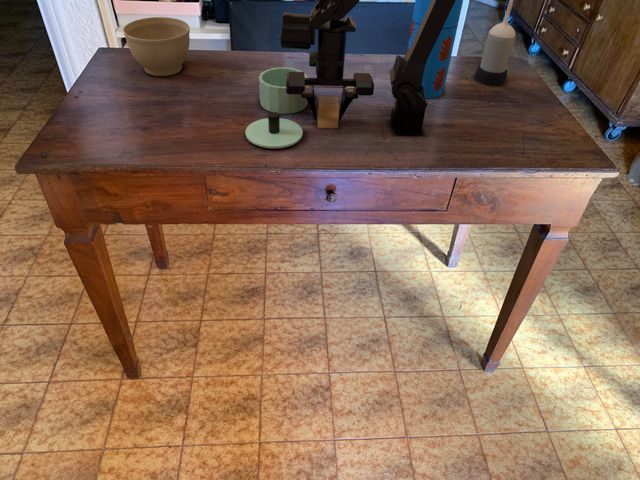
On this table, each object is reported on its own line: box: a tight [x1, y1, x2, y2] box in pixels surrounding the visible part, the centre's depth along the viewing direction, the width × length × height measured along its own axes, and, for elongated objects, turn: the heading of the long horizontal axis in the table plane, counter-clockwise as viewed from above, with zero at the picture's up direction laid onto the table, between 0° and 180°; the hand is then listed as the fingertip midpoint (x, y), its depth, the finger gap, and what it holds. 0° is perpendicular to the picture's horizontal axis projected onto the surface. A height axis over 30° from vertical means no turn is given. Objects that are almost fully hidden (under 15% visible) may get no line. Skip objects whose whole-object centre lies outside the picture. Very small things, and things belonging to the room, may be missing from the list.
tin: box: [258, 66, 309, 115], centre depth 120 cm, size 11×11×6 cm
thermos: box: [406, 0, 464, 99], centre depth 122 cm, size 11×11×25 cm
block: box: [316, 95, 340, 129], centre depth 113 cm, size 4×4×6 cm
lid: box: [245, 112, 304, 149], centre depth 108 cm, size 12×12×5 cm
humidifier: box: [474, 0, 516, 87], centre depth 129 cm, size 8×8×25 cm
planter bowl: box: [122, 16, 191, 77], centre depth 130 cm, size 16×16×11 cm
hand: (327, 119), depth 114 cm, fingers open, 5 cm apart
